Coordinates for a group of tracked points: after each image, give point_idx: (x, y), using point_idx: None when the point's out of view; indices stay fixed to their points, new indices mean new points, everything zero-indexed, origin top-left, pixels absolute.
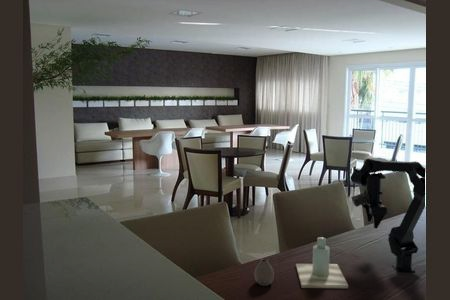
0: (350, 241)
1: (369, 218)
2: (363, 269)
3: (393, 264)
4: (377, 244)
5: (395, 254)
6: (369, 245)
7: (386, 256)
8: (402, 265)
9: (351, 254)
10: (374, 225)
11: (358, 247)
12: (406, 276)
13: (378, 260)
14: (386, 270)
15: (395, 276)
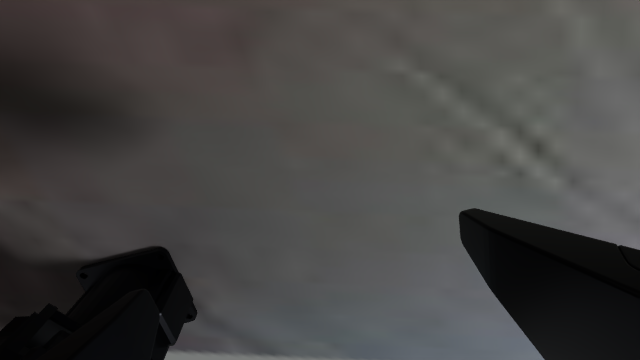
0: (533, 4)
1: (485, 255)
2: (11, 86)
3: (155, 255)
4: (480, 185)
5: (4, 328)
6: (459, 138)
7: (291, 224)
8: (70, 309)
9: (261, 6)
10: (89, 325)
11: (413, 63)
12: (43, 297)
13: (211, 181)
14: (72, 215)
15: (10, 253)
